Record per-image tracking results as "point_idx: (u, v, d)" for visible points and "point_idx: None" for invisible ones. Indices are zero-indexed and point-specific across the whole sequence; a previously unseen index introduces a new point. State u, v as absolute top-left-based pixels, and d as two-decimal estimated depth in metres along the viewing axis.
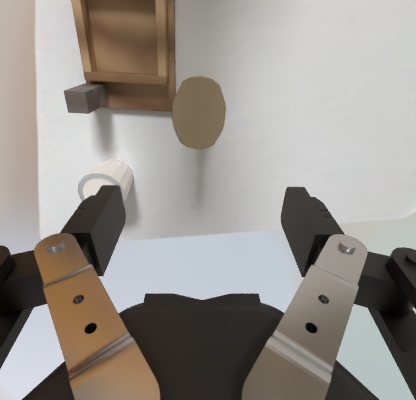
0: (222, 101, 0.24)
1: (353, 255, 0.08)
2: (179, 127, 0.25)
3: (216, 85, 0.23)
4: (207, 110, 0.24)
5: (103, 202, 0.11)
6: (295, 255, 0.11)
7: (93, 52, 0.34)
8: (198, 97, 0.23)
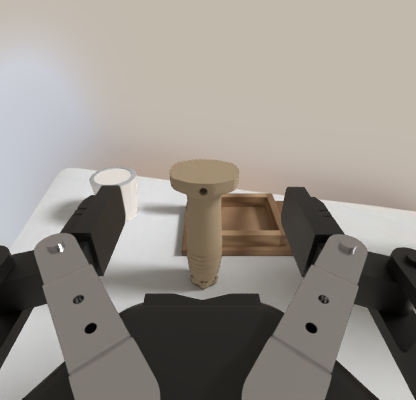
0: (220, 181, 0.23)
1: (353, 255, 0.08)
2: (192, 162, 0.26)
3: (234, 178, 0.23)
4: (209, 174, 0.24)
5: (103, 202, 0.11)
6: (295, 255, 0.11)
7: (227, 205, 0.44)
8: (221, 170, 0.25)
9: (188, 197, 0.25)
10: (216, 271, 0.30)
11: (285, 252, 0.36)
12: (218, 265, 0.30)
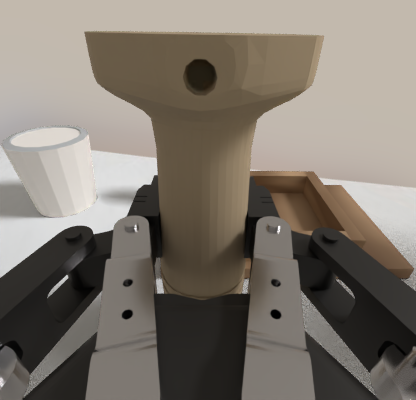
0: (267, 34, 0.06)
1: (276, 233, 0.09)
2: (169, 32, 0.09)
3: None
4: None
5: None
6: None
7: None
8: None
9: (155, 126, 0.08)
10: None
11: None
12: None
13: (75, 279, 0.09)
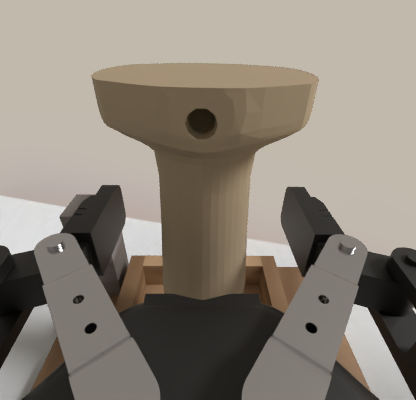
0: (264, 84, 0.06)
1: (353, 255, 0.08)
2: (171, 65, 0.09)
3: (310, 83, 0.07)
4: (223, 76, 0.07)
5: (103, 202, 0.11)
6: (295, 255, 0.11)
7: None
8: (257, 72, 0.08)
9: (158, 158, 0.09)
10: None
11: None
12: None
13: None
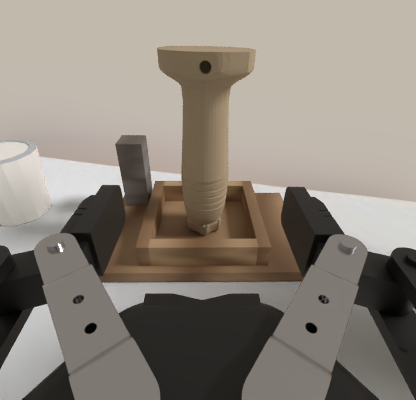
0: (230, 51, 0.16)
1: (353, 255, 0.08)
2: (189, 46, 0.19)
3: (250, 51, 0.16)
4: (214, 49, 0.17)
5: (103, 202, 0.11)
6: (295, 255, 0.11)
7: (183, 199, 0.29)
8: (230, 49, 0.17)
9: (184, 90, 0.18)
10: (220, 210, 0.23)
11: (266, 276, 0.21)
12: (223, 201, 0.23)
13: None
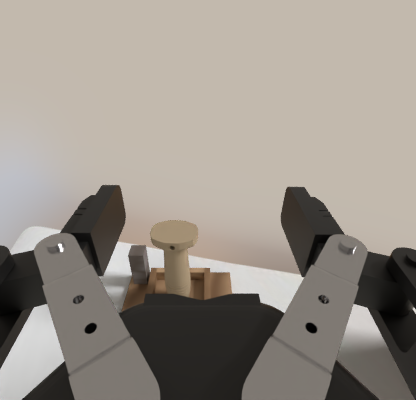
0: (183, 241, 0.34)
1: (353, 255, 0.08)
2: (167, 223, 0.37)
3: (193, 238, 0.35)
4: (177, 234, 0.35)
5: (103, 202, 0.11)
6: (295, 255, 0.11)
7: None
8: (186, 230, 0.36)
9: None
10: (186, 296, 0.41)
11: None
12: (188, 292, 0.41)
13: None
